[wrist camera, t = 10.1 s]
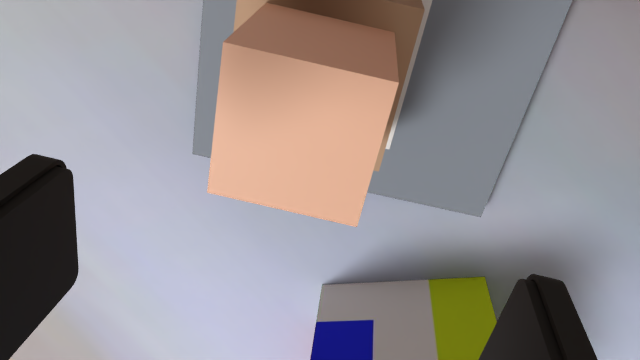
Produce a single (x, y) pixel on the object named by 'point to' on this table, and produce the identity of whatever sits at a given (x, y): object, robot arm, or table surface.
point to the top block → (302, 112)
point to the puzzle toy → (404, 320)
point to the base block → (366, 9)
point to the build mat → (434, 95)
